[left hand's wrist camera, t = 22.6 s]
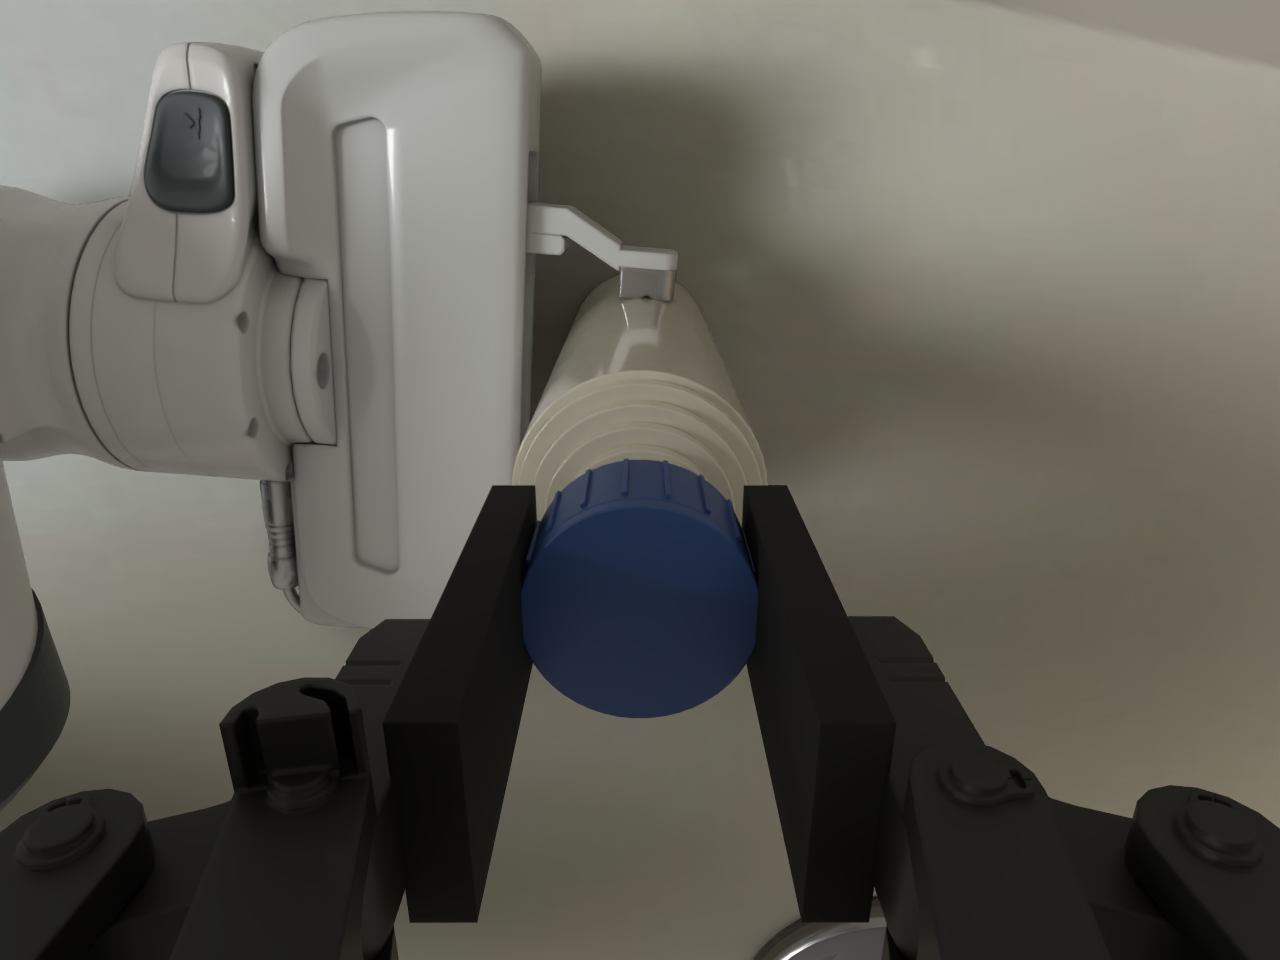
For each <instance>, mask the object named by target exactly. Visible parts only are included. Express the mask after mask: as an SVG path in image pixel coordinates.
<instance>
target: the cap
mask: <svg viewBox="0 0 1280 960" xmlns="http://www.w3.org/2000/svg"><path fill="white" fill-rule="evenodd" d="M525 564H527V569H526V572H525V576H524V580H523V583H522V587H521V603H522V620H523V637H524V645H525V647H526V650H527V652H528V654H529V656H530V658H531V659H532V661H533V663H534V665H535V666H536V667H537V669H538V670H539V671H540V673H541V674H542V675H543V676H544V678H545V679H546V680H547V681H548V682H549V683H550V684H551V685H552V686H553V687H555V688H556V689H557V690H558V691H560V692H561V693H562V694H564V695H565V696H567V697H568V698H570V699H571V700H573V701H575V702H576V703H578V704H581V705H583V706H585V707H587V708H589V709H592V710H595V711H598V712H601V713H604V714H609V715H614V716H618V717H628V718H653V717H661V716H667V715H671V714H675V713H679V712H682V711H685V710H688V709H691V708H693V707H695V706H697V705H699V704H701V703H703V702H705V701H707V700H709V699H710V698H712V697H713V696H715V695H716V694H718V693H719V692H720V691H722V690H723V689H724V688H725V687H726V686H728V685H729V684H730V683H731V682H732V681H733V679H734V678H735V677H736V676H737V675H738V674H739V673H740V671H741V670H742V669H743V667H744V666H745V664H746V663H747V661H748V659H749V657H750V656H751V654H752V652H753V650H754V647H755V638H756V621H757V604H758V584H757V580H756V577H755V569H754V566H753V562H752V559H751V555H750V552H749V548H748V545H747V541H746V538H745V534H744V531H742V527H741V525H740V522H739V520H738V518H737V515H736V514H735V512H734V509H733V505H732V502H731V500H730V499H728V500H726V499H725V497H724V496H723V495H722V494H721V493H720V492H719V491H718V490H717V489H716V488H715V487H714V486H713V485H712V484H710V483H709V482H708V481H706V480H705V478H704V476H703V475H701V474H700V475H697V474H695V473H693V472H691V471H689V470H687V469H685V468H682V467H680V466H677V465H674V464H670V463H668V461H665V460H663V462H662V461H654V460H629V459H628V458H627V459H624V460H623V461H618V462H614V463H610V464H606V465H603V466H600V467H598V468H595V469H593V470H591V469H588V470H586V473H585V474H583V475H581V476H580V477H578V478H576V479H575V480H574V481H572V482H571V483H570V484H568V485H567V486H566V487H565V488H564V489H563V490H562V491H561V492H560V491H559V490H558V491H557V492H556V493H555V497H554V500H553V501H552V503H551V504H550V505H549V507H548V508H547V510H546V512H545V514H544V515H543V517H542V520H541V521H539V520H538V521H537V523H536V526H535V529H534V533H533V536H532V540H531V543H530V547H529V550H528V553H527V557H526V560H525Z"/></svg>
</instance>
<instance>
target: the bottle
mask: <svg viewBox="0 0 1280 960" xmlns="http://www.w3.org/2000/svg"><path fill="white" fill-rule="evenodd" d="M619 276H620V274H619V275H616V276H614V277H612V278H609V279H608V280H606V281H604V282H603V283H601V284H600V285H599V286H597V287H596V288H595V289H594V290H593V291H592V292H591V293H590V294H589V295H588V296H587V298H586V299H585V300H584V302H583V303H582V305H581V307H580V309H579V311H578V313H577V315H576V318H575V320H574V322H573V325H572V327H571V329H570V331H569V334H568V336H567V338H566V341H565V343H564V345H563V348H562V350H561V352H560V355H559V357H558V359H557V362H556V364H555V366H554V369H553V371H552V373H551V376H550V378H549V380H548V382H547V385H546V387H545V389H544V392H543V394H542V396H541V399H540V401H539V403H538V406H537V408H536V410H535V413H534V415H533V417H532V420H531V422H530V424H529V427H528V429H527V431H526V433H525V436H524V438H523V440H522V443H521V445H520V448H519V451H518V453H517V456H516V460H515V464H514V468H513V474H512V485H535V490H536V510H537V521H538V520H539V521H541V520H542V517H543V515H544V514H545V512H546V510H547V508H548V507H549V505H550V504H551V503H552V501H553V500H554V497H555V493H556V492H557V491H558V490H559V491H560V492H561V491H562V490H563V489H564V488H565V487H566V486H567V485H568V484H570V483H571V482H572V481H574V480H575V479H576V478H578V477H580V476H581V475H583V474H585V473H586V470H588V469H591V470H593V469H595V468H598V467H600V466H603V465H606V464H610V463H614V462H618V461H623V460H624V459H627V458H628V459H629V460H654V461H662V462H663V460H665V461H668V463H670V464H674V465H677V466H680V467H682V468H685V469H687V470H689V471H691V472H693V473H695V474H697V475H700V474H701V475H703V476H704V478H705V480H706V481H708V482H709V483H710V484H712V485H713V486H714V487H715V488H716V489H717V490H718V491H719V492H720V493H721V494H722V495H723V496H724V497H725V499H726V500H728V499H730V500H731V502H732V505H733V509H734V512H735V514H736V515H737V518H738V520H739V522H740V525H741V527H742V511H743V491H744V485H768V478H767V470H766V466H765V461H764V457H763V454H762V452H761V449H760V446H759V443H758V441H757V439H756V436H755V434H754V432H753V430H752V427H751V425H750V423H749V420H748V418H747V416H746V413H745V411H744V409H743V407H742V404H741V402H740V400H739V397H738V395H737V393H736V390H735V388H734V386H733V384H732V381H731V379H730V377H729V374H728V372H727V370H726V367H725V365H724V363H723V361H722V358H721V356H720V354H719V351H718V349H717V347H716V344H715V342H714V340H713V338H712V335H711V333H710V331H709V328H708V326H707V324H706V321H705V319H704V317H703V315H702V312H701V310H700V308H699V306H698V304H697V303H696V301H695V300H694V298H693V297H692V296H691V295H690V294H689V293H688V291H687V290H686V289H684V288H683V287H682V286H681V285H680V284H678V283H677V282H675V290H674V299H673V301H658V300H652V299H651V298H650V297H649V296H647V295H646V296H644V297H642V298H641V299H628V298H618V296H619Z"/></svg>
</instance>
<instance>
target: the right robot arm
mask: <svg viewBox="0 0 1280 960" xmlns="http://www.w3.org/2000/svg"><path fill="white" fill-rule="evenodd" d="M541 73H542V68H541V61H540V58H539V56H538V55H537V53H536V52H535V50H534V49H533V47H532V46H531V45H530V43H529V42H528V40H527V39H526V38H525V37H524V36H523V35H522V34H521V33H520V31H518V30H517V29H516V28H515V27H514V26H513V25H512V24H511V23H509V22H508V21H506V20H504V19H502V18H500V17H496V16H493V15H486V14H477V13H467V12H441V11H403V12H379V13H366V14H354V15H344V16H335V17H328V18H321V19H316V20H312V21H309V22H305V23H302V24H300V25H297V26H295V27H293V28H291V29H289V30H287V31H286V32H284V33H283V34H281V35H280V36H278V37H277V38H276V39H275V40H274V41H273V42H272V43H271V44H270V45H269V46H268V48H267V49H266V51H265V52H260V51H256V50H253V49H249V48H245V47H240V46H235V45H228V44H220V43H208V42H188V43H175V44H172V45H169V46H168V47H166V48H165V49H164V50H163V51H162V52H161V54H160V55H159V57H158V59H157V62H156V65H155V68H154V71H153V76H152V81H151V86H150V92H149V98H148V104H147V110H146V116H145V121H144V127H143V133H142V138H141V144H140V149H139V154H138V159H137V164H136V169H135V173H134V178H133V182H132V187H131V191H130V195H129V197H119V198H113V199H108V200H104V201H100V202H95V203H91V204H79V205H73V204H67V203H62V202H58V201H55V200H52V199H49V198H47V197H44V196H42V195H39V194H36V193H33V192H30V191H27V190H23V189H19V188H15V187H9V186H2V185H0V811H1V810H2V809H3V808H4V807H5V806H6V805H7V804H8V803H9V802H10V801H11V800H12V799H13V798H14V797H15V795H16V794H17V793H18V792H19V791H20V790H21V789H22V787H23V786H24V785H25V784H26V783H27V782H28V780H29V779H30V778H31V776H32V775H33V774H34V773H35V771H36V770H37V769H38V767H39V766H40V764H41V763H42V762H43V760H44V759H45V758H46V756H47V755H48V753H49V752H50V751H51V749H52V748H53V746H54V744H55V743H56V741H57V739H58V738H59V736H60V734H61V732H62V730H63V727H64V725H65V722H66V719H67V716H68V712H69V707H70V689H69V684H68V681H67V678H66V675H65V673H64V670H63V667H62V664H61V661H60V659H59V656H58V653H57V650H56V647H55V645H54V642H53V639H52V636H51V633H50V631H49V628H48V625H47V622H46V619H45V616H44V613H43V610H42V607H41V604H40V602H39V600H38V598H37V596H36V594H35V592H34V591H33V590H32V588H31V585H30V581H29V576H28V572H27V567H26V563H25V559H24V554H23V550H22V545H21V541H20V537H19V532H18V528H17V523H16V519H15V514H14V510H13V506H12V501H11V497H10V492H9V488H8V484H7V479H6V475H5V470H4V466H3V462H2V461H27V460H34V459H40V458H45V457H50V456H55V455H61V454H79V455H85V456H89V457H92V458H96V459H98V460H100V461H103V462H106V463H109V464H111V465H114V466H118V467H121V468H125V469H131V470H137V471H148V472H161V473H174V474H187V475H201V476H214V477H228V478H242V479H255V480H260V489H261V497H262V507H263V515H264V521H265V525H266V529H267V533H268V539H269V550H270V552H269V553H268V570H269V575H270V578H271V581H272V584H273V586H274V587H275V588H277V589H280V590H283V592H284V594H285V597H286V598H287V600H288V601H289V603H290V604H291V605H292V606H293V607H294V609H296V610H297V611H298V612H299V613H301V615H302V616H303V618H304V619H305V620H307V621H310V622H312V623H316V624H320V625H329V626H343V627H364V628H368V629H373V628H374V627H376V626H377V625H378V624H380V623H381V622H382V621H384V620H385V619H431V617H432V615H433V613H434V610H435V608H436V606H437V604H438V602H439V600H440V597H441V595H442V593H443V591H444V589H445V587H446V584H447V582H448V580H449V578H450V576H451V574H452V572H453V569H454V567H455V565H456V563H457V561H458V559H459V556H460V554H461V552H462V550H463V548H464V546H465V543H466V541H467V539H468V537H469V535H470V533H471V530H472V528H473V526H474V524H475V522H476V520H477V517H478V515H479V513H480V511H481V509H482V507H483V505H484V502H485V500H486V498H487V496H488V494H489V492H490V489H491V487H492V485H512V474H513V468H514V464H515V460H516V456H517V453H518V451H519V448H520V445H521V443H522V440H523V438H524V436H525V433H526V431H527V429H528V427H529V424H530V409H531V379H532V348H533V318H534V288H535V257H536V253H537V254H551V255H561V254H562V253H563V252H564V251H565V250H566V249H567V248H568V247H569V246H570V239H572V240H573V241H575V242H576V243H578V244H579V245H581V246H582V247H584V248H585V249H586V250H588V251H589V252H591V253H592V254H594V255H595V256H597V257H598V258H600V259H601V260H603V261H604V262H606V263H607V264H608V265H610V266H611V267H613V268H614V269H616V270H617V271H619V268H620V276H619V296H618V298H628V299H641V298H642V297H644V296H646V295H647V296H649V297H650V298H651V299H652V300H658V301H673V299H674V290H675V281H676V273H677V261H678V252H677V251H675V250H670V249H663V248H651V247H639V246H627V245H622V241H621V240H620V239H619V238H617V237H616V236H614V235H613V234H611V233H610V232H609V231H607V230H606V229H604V228H603V227H602V226H600V225H599V224H597V223H596V222H595V221H593V220H592V219H590V218H589V217H588V216H586V215H585V214H583V213H582V212H581V211H579V210H578V209H576V208H575V207H574V206H572V205H560V204H548V203H537V197H538V166H539V136H540V106H541ZM298 585H299V595H300V597H299V595H298V594H297V592H296V590H295V587H297V586H298Z"/></svg>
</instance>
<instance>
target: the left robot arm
mask: <svg viewBox="0 0 1280 960" xmlns="http://www.w3.org/2000/svg"><path fill="white" fill-rule="evenodd" d="M536 523H537V510H536V490H535V485H492V487H491V489H490V492H489V494H488V496H487V498H486V500H485V502H484V505H483V507H482V509H481V511H480V513H479V515H478V517H477V520H476V522H475V524H474V526H473V528H472V530H471V533H470V535H469V537H468V539H467V541H466V543H465V546H464V548H463V550H462V552H461V554H460V556H459V559H458V561H457V563H456V565H455V567H454V569H453V572H452V574H451V576H450V578H449V580H448V582H447V584H446V587H445V589H444V591H443V593H442V595H441V597H440V600H439V602H438V604H437V606H436V608H435V610H434V613H433V615H432V617H431V619H385V620H384V621H382V622H381V623H380V624H378V625H377V626H376V627H374V628H373V629H372V630H370V631H369V632H368V633H366V634H365V635H364V636H362V637H361V638H360V639H359V640H358V642H357V644H356V645H355V647H354V649H353V650H352V652H351V654H350V655H349V657H348V659H347V660H346V666H343V667H342V669H341V671H340V672H339V674H338V676H337V677H336V679H335V680H334V679H331V678H300V679H296V680H291V681H286V682H281V683H277V684H275V685H272V686H270V687H267V688H265V689H262V690H260V691H258V692H255V693H253V694H251V695H250V696H248V697H247V698H245V699H244V700H243V701H241V702H240V703H238V704H237V705H235V706H234V707H232V708H231V710H230V711H229V712H228V714H227V715H226V716H225V718H224V719H223V720H222V721H221V723H220V724H219V726H220V730H221V735H222V739H223V743H224V748H225V752H226V757H227V761H228V765H229V770H230V774H231V779H232V783H233V788H234V795H233V797H232V800H231V801H228V802H226V803H223V804H219V805H216V806H213V807H209V808H206V809H202V810H198V811H194V812H189V813H185V814H180V815H176V816H172V817H167V818H163V819H159V820H154V821H150V822H147V819H146V816H145V812H144V808H143V805H142V804H141V803H140V802H139V801H138V800H137V799H136V798H135V797H134V796H133V795H132V794H131V793H126V792H122V791H117V790H112V789H104V790H93V791H83V792H79V793H76V794H73V795H69V796H66V797H63V798H60V799H57V800H53V801H51V802H49V803H47V804H45V805H43V806H41V807H39V808H37V809H35V810H33V811H31V812H29V813H27V814H25V815H23V816H21V817H20V818H19V819H17V820H16V821H15V822H14V823H12V824H11V825H10V826H8V827H7V828H6V829H4V830H3V831H2V832H1V833H0V960H398V952H397V945H396V938H395V931H394V922H395V919H396V915H397V912H398V909H399V906H400V903H401V900H402V897H403V894H404V891H405V890H406V897H407V905H408V912H409V919H410V923H448V922H477V921H478V916H479V911H480V907H481V902H482V897H483V893H484V888H485V883H486V879H487V874H488V869H489V865H490V860H491V855H492V851H493V846H494V841H495V837H496V832H497V827H498V823H499V818H500V813H501V809H502V804H503V799H504V795H505V790H506V785H507V781H508V776H509V771H510V767H511V762H512V757H513V753H514V748H515V743H516V739H517V734H518V729H519V725H520V720H521V715H522V711H523V706H524V702H525V697H526V692H527V688H528V683H529V678H530V674H531V669H532V664H533V661H532V659H531V658H530V656H529V654H528V652H527V650H526V647H525V645H524V637H523V620H522V603H521V587H522V583H523V580H524V576H525V572H526V569H527V564H525V560H526V557H527V553H528V550H529V547H530V543H531V540H532V536H533V533H534V529H535V526H536ZM742 531H744V534H745V538H746V541H747V545H748V548H749V552H750V555H751V559H752V562H753V566H754V569H755V577H756V580H757V584H758V604H757V621H756V638H755V647H754V650H753V652H752V654H751V656H750V657H749V659H748V661H747V663H746V664H747V668H748V673H749V678H750V682H751V687H752V692H753V696H754V701H755V706H756V710H757V715H758V720H759V724H760V729H761V734H762V738H763V743H764V748H765V752H766V757H767V762H768V766H769V771H770V776H771V780H772V785H773V790H774V794H775V799H776V804H777V808H778V813H779V818H780V822H781V827H782V832H783V836H784V841H785V846H786V850H787V855H788V860H789V864H790V869H791V874H792V878H793V883H794V888H795V892H796V897H797V902H798V906H799V911H800V916H801V919H800V920H799V921H797V922H795V923H793V924H792V925H790V926H788V927H787V928H785V929H784V930H783V931H781V932H780V933H778V934H777V935H776V936H775V937H774V938H772V939H771V940H770V941H769V942H768V943H767V944H766V945H765V946H764V947H763V948H762V949H761V950H760V952H759V953H758V954H757V955H756V957H755V958H754V959H753V960H1280V829H1279V828H1278V827H1277V826H1275V825H1274V824H1273V823H1271V822H1270V821H1269V820H1268V819H1266V818H1265V817H1264V816H1262V815H1261V814H1260V813H1258V812H1256V811H1254V810H1252V809H1250V808H1248V807H1246V806H1244V805H1242V804H1240V803H1238V802H1237V801H1235V800H1233V799H1231V798H1229V797H1226V796H1222V795H1219V794H1216V793H1212V792H1209V791H1206V790H1203V789H1199V788H1193V787H1182V786H1172V785H1169V786H1165V787H1160V788H1155V789H1151V790H1148V791H1147V792H1146V793H1145V794H1144V795H1143V796H1142V797H1141V798H1140V799H1139V800H1138V801H1137V804H1136V808H1135V811H1134V815H1133V819H1132V818H1127V817H1123V816H1119V815H1114V814H1110V813H1105V812H1101V811H1096V810H1092V809H1088V808H1083V807H1079V806H1075V805H1071V804H1068V803H1065V802H1061V801H1058V800H1055V799H1052V798H1050V797H1048V796H1047V793H1046V791H1045V789H1044V788H1043V786H1042V785H1041V783H1040V782H1039V780H1038V779H1037V777H1036V776H1035V774H1034V773H1033V772H1031V771H1030V770H1029V769H1028V768H1026V767H1025V766H1024V765H1023V764H1021V763H1020V762H1019V761H1018V760H1016V759H1015V758H1013V757H1011V756H1009V755H1007V754H1005V753H1003V752H1001V751H999V750H996V749H994V748H992V747H990V746H986V745H985V744H984V742H983V741H982V739H981V737H980V736H979V734H978V732H977V731H976V729H975V727H974V726H973V724H972V722H971V721H970V719H969V717H968V716H967V714H966V712H965V711H964V709H963V707H962V706H961V704H960V702H959V700H958V699H957V697H956V695H955V694H954V692H953V690H952V689H951V687H950V685H949V684H948V682H945V677H944V675H943V674H942V672H941V670H940V669H939V667H938V665H937V664H936V663H934V662H933V657H932V655H931V654H930V652H929V650H928V649H927V647H926V645H925V644H924V642H923V640H922V639H921V637H920V636H919V635H918V634H917V633H915V632H914V631H913V630H911V629H910V628H909V627H907V626H906V625H905V624H903V623H902V622H901V621H899V620H898V619H896V618H895V617H853V616H847V615H846V613H845V610H844V608H843V606H842V604H841V602H840V600H839V597H838V595H837V593H836V591H835V589H834V587H833V584H832V582H831V580H830V578H829V576H828V574H827V572H826V569H825V567H824V565H823V563H822V561H821V559H820V556H819V554H818V552H817V550H816V548H815V546H814V543H813V541H812V539H811V537H810V535H809V533H808V530H807V528H806V526H805V524H804V522H803V520H802V517H801V515H800V513H799V511H798V509H797V507H796V504H795V502H794V500H793V498H792V496H791V494H790V491H789V489H788V487H787V485H744V491H743V511H742ZM874 887H875V890H876V893H877V896H878V899H873V900H872V898H873V891H874Z"/></svg>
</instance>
